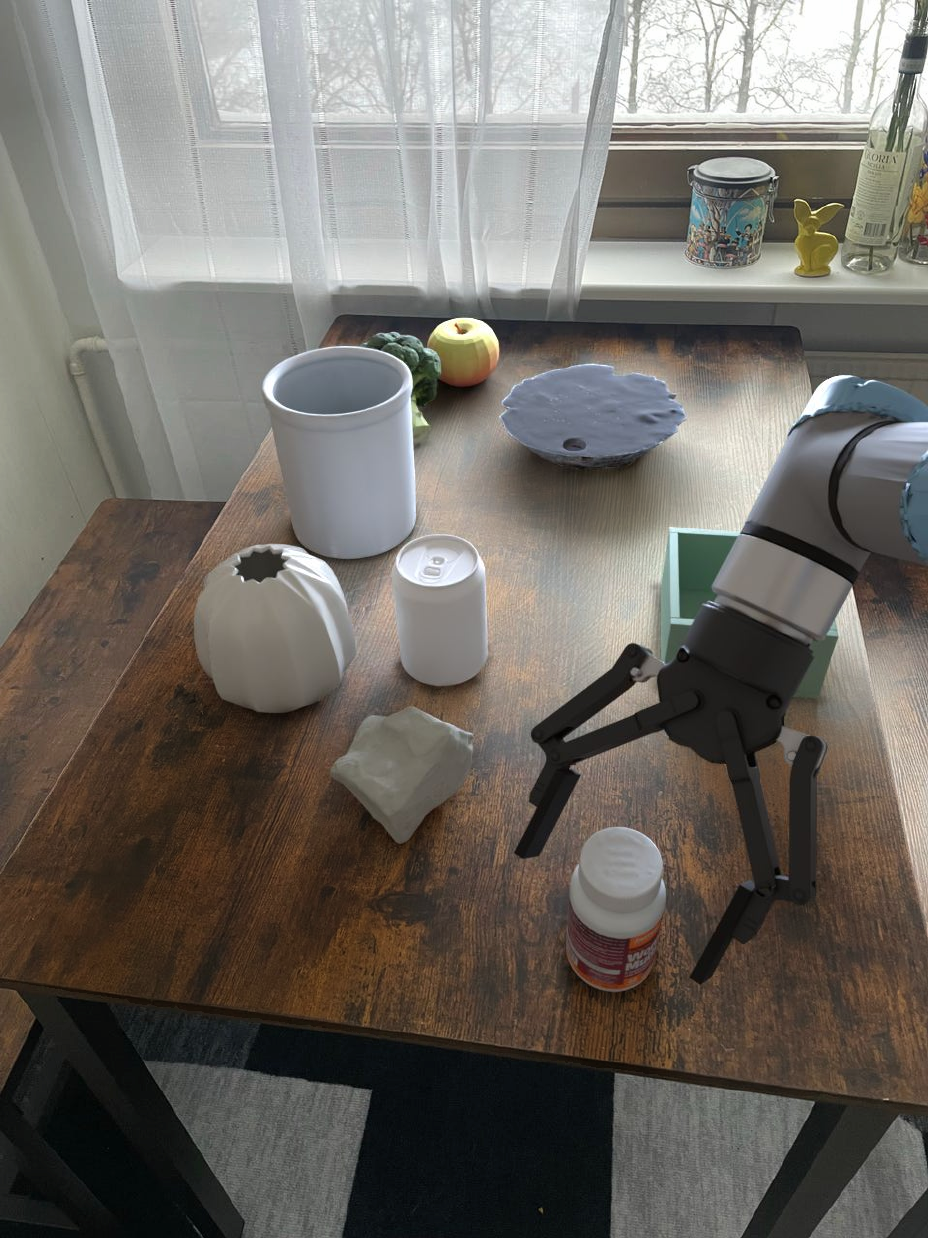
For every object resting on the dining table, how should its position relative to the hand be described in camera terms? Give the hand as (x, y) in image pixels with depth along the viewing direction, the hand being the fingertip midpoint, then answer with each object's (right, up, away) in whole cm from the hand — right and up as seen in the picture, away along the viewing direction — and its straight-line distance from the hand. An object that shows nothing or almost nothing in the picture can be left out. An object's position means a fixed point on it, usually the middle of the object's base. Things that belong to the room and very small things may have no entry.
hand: (608, 913), depth 60 cm
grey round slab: (+6, +41, +53) cm, 67 cm away
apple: (-9, +52, +66) cm, 85 cm away
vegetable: (-17, +44, +58) cm, 75 cm away
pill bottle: (+1, -4, +5) cm, 6 cm away
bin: (+16, +17, +27) cm, 36 cm away
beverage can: (-11, +15, +26) cm, 32 cm away
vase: (-26, +14, +26) cm, 39 cm away
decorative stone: (-15, +5, +16) cm, 22 cm away
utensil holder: (-21, +30, +43) cm, 57 cm away
